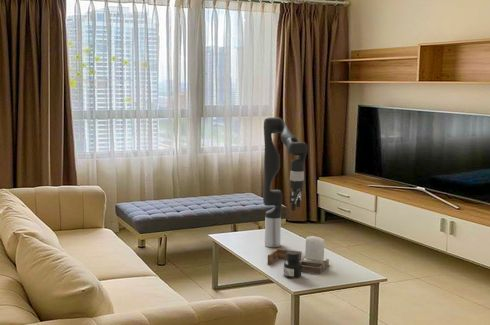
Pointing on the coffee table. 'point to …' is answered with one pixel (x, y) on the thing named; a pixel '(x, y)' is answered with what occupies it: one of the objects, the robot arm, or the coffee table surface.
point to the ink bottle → (292, 265)
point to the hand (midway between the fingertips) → (295, 208)
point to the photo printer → (314, 248)
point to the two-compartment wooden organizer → (314, 265)
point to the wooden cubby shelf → (278, 255)
